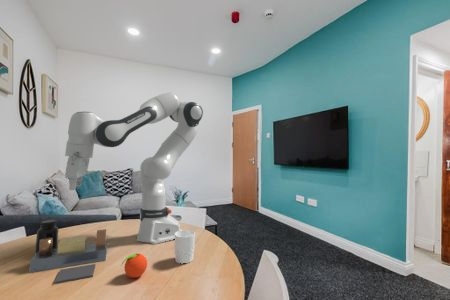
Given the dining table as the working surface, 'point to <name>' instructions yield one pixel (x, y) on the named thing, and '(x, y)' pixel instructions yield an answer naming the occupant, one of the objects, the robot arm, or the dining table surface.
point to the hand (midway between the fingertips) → (75, 188)
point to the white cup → (184, 246)
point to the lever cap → (72, 244)
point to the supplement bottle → (47, 233)
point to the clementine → (135, 265)
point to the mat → (75, 273)
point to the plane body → (68, 254)
